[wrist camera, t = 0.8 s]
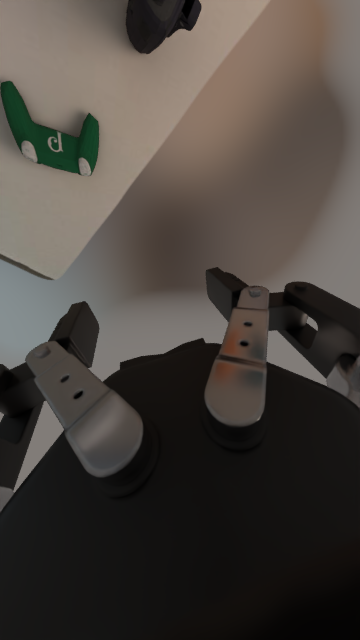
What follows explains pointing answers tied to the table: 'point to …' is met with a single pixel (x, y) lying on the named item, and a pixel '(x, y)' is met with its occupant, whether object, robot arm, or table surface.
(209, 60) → the table surface
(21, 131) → the gaming controller
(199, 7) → the two-way radio
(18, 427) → the robot arm
